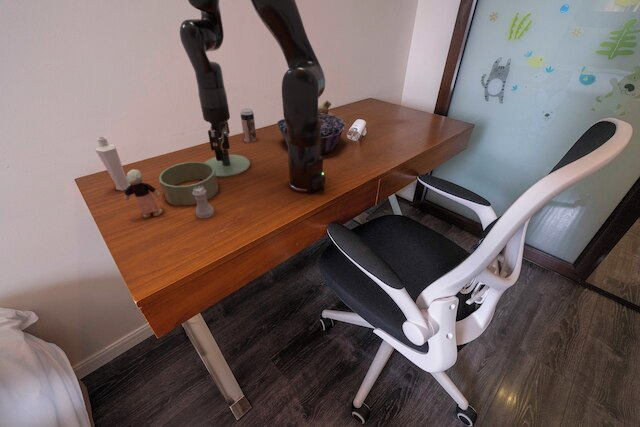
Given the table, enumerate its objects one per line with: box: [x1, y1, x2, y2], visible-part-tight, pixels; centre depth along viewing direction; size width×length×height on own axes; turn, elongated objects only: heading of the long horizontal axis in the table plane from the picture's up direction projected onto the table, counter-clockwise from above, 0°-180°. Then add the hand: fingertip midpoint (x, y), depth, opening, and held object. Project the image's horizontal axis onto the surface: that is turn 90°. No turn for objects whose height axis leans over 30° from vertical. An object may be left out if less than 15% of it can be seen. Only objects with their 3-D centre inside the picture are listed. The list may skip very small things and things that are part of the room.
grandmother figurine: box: [123, 169, 163, 219], centre depth 69 cm, size 8×4×13 cm, turn 118°
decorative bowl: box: [276, 113, 347, 155], centre depth 109 cm, size 26×28×10 cm
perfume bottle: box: [95, 136, 131, 192], centre depth 78 cm, size 5×4×15 cm
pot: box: [158, 161, 220, 207], centre depth 79 cm, size 14×14×6 cm
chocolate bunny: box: [318, 99, 334, 115], centre depth 130 cm, size 6×8×10 cm
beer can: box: [239, 108, 257, 143], centre depth 108 cm, size 5×5×12 cm
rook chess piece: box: [192, 186, 215, 219], centre depth 70 cm, size 4×4×8 cm
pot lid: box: [204, 148, 251, 178], centre depth 92 cm, size 15×15×6 cm
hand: (223, 154), depth 91 cm, fingers open, 8 cm apart
